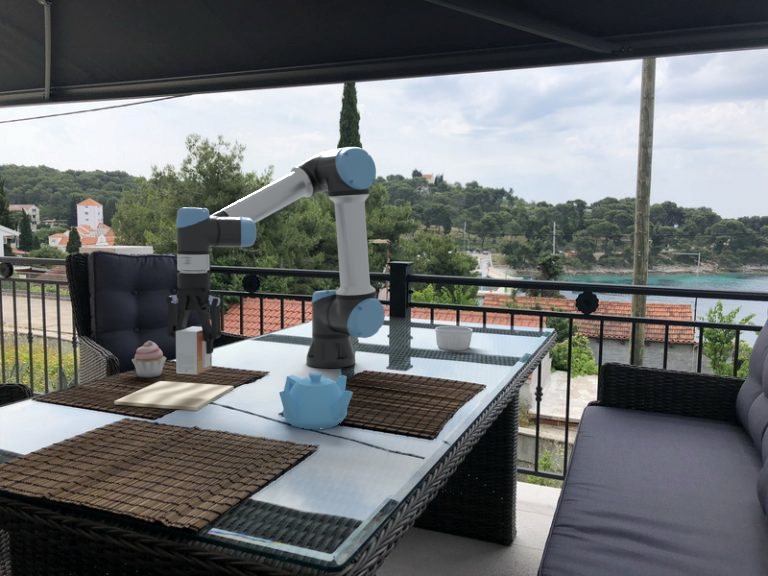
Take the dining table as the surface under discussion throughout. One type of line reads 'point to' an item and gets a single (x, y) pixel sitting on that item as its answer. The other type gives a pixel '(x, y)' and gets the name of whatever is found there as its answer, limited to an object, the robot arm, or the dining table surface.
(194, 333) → the small box
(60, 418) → the dining table surface
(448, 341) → the ramekin
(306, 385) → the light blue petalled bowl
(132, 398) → the birch board
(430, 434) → the dining table surface
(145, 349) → the cupcake
